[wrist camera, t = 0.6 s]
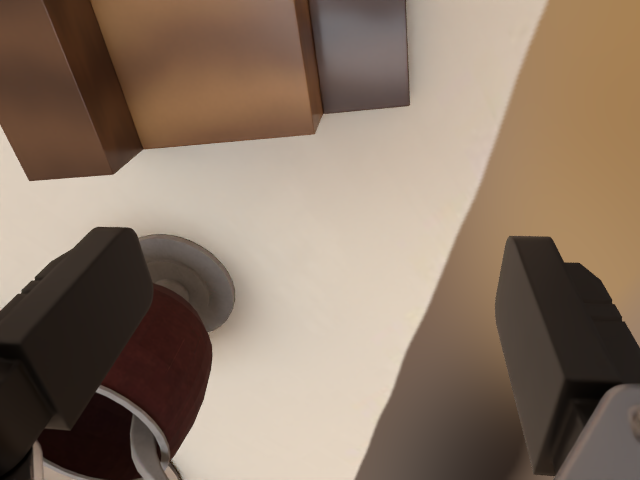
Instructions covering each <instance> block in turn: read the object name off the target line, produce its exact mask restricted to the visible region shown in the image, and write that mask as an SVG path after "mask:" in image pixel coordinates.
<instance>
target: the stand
mask: <svg viewBox="0 0 640 480" xmlns="http://www.w3.org/2000/svg"><path fill="white" fill-rule="evenodd" d="M409 105H410V96H409V70H408V44H407V18H406V0H0V125H1V127H2V129H3V131H4V133H5V135H6V137H7V139H8V141H9V142H10V144H11V146H12V148H13V150H14V152H15V154H16V156H17V158H18V160H19V162H20V164H21V166H22V168H23V170H24V172H25V174H26V176H27V178H28V179H29V181H36V180H49V179H62V178H75V177H88V176H101V175H113V174H115V173H116V172H117V171H118V170H119V169H120V168H122V167H123V166H124V165H125V164H126V163H128V162H129V161H130V160H131V159H132V158H133V157H135V156H136V155H137V154H138V153H139V152H140V151H142V150H143V149H153V148H165V147H176V146H187V145H199V144H210V143H221V142H233V141H244V140H255V139H267V138H278V137H290V136H301V135H312V134H315V132H316V130H317V127H318V125H319V123H320V120H321V118H322V115H323V113H324V114H330V113H340V112H350V111H361V110H371V109H382V108H392V107H403V106H409Z"/></svg>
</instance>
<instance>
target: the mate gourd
mask: <svg viewBox="0 0 640 480" xmlns="http://www.w3.org/2000/svg"><path fill="white" fill-rule="evenodd" d="M139 242H140V245H141V248H142V251H143V254H144V257H145V260H146V263H147V266H148V269H149V272H150V276H151V279H152V282H153V289H154V291H153V300H152V303H151V306H150V308H149V310H148V312H147V313H146V315H145V316H144V318H143V319H142V321H141V322H140V324H139V326H138V327H137V329H136V330H135V332H134V333H133V335H132V336H131V338H130V339H129V341H128V343H127V344H126V346H125V347H124V349H123V350H122V352H121V353H120V355H119V357H118V358H117V360H116V361H115V363H114V364H113V366H112V367H111V369H110V370H109V372H108V374H107V375H106V377H105V378H104V380H103V381H102V383H101V384H100V386H99V388H98V389H97V391H96V392H95V394H94V395H93V397H92V398H91V400H90V401H89V403H88V405H87V406H86V408H85V409H84V411H83V412H82V414H81V415H80V417H79V419H78V420H77V422H76V423H75V425H74V426H73V428H72V429H71V431H69V430H58V429H47V428H44V430H43V431H42V433H41V434H40V435H39V437H38V438H37V440H38V442H39V443H40V445H41V447H42V455H43V466H45V467H47V468H49V469H51V470H53V471H55V472H57V473H60V474H62V475H65V476H67V477H70V478H72V479H75V480H169V478H168V477H167V475H166V473H165V470H166V468H167V467H168V464H169V462H170V461H171V459H172V458H173V457H174V455H175V454H176V452H177V450H178V449H179V447H180V446H181V444H182V442H183V441H184V439H185V437H186V436H187V434H188V432H189V431H190V429H191V427H192V426H193V424H194V422H195V419H196V417H197V414H198V412H199V410H200V407H201V405H202V402H203V400H204V396H205V392H206V388H207V383H208V379H209V375H210V371H211V364H212V344H211V341H210V338H209V335H208V333H207V332H210V331H213V330H215V329H216V328H218V327H220V326H221V325H222V324H223V323H224V322H225V321H226V320H227V319H228V317H229V315H230V313H231V311H232V309H233V306H234V302H235V289H234V286H233V282H232V279H231V277H230V275H229V273H228V271H227V270H226V269H225V267H224V266H223V265H222V263H221V262H220V261H219V260H218V259H217V258H216V257H215V256H214V255H212V254H211V253H210V252H209V251H207V250H206V249H204V248H203V247H201V246H199V245H197V244H195V243H193V242H191V241H189V240H186V239H183V238H180V237H177V236H170V235H149V236H145V237H141V238H139Z"/></svg>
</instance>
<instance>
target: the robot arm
mask: <svg viewBox="0 0 640 480" xmlns="http://www.w3.org/2000/svg"><path fill="white" fill-rule="evenodd" d="M21 291H22V293H21V294H17V295H16V296H15V297H14V298H13V299H12V300H11V301H10V302H9V303H8V304H7V305H6V306H5V307H4V308H3V309H2V310H1V311H0V480H44V470H43V455H42V447H41V445H40V443H39V442H38V440H37V438H38V437H39V435H40V434H41V433H42V431H43V430H44V428H47V429H58V430H69V431H71V429H72V428H73V426H74V425H75V423H76V422H77V420H78V419H79V417H80V415H81V414H82V412H83V411H84V409H85V408H86V406H87V405H88V403H89V401H90V400H91V398H92V397H93V395H94V394H95V392H96V391H97V389H98V388H99V386H100V384H101V383H102V381H103V380H104V378H105V377H106V375H107V374H108V372H109V370H110V369H111V367H112V366H113V364H114V363H115V361H116V360H117V358H118V357H119V355H120V353H121V352H122V350H123V349H124V347H125V346H126V344H127V343H128V341H129V339H130V338H131V336H132V335H133V333H134V332H135V330H136V329H137V327H138V326H139V324H140V322H141V321H142V319H143V318H144V316H145V315H146V313H147V312H148V310H149V308H150V306H151V303H152V300H153V291H154V289H153V282H152V279H151V276H150V272H149V269H148V266H147V263H146V260H145V257H144V254H143V251H142V248H141V245H140V242H139V239H138V236H137V234H136V233H135V231H134V230H133V229H131V228H122V227H96V228H94V229H92V230H91V231H90V232H89V233H88V234H87V235H86V236H85V237H84V238H83V239H82V240H81V241H80V242H79V243H78V244H77V245H76V246H75V247H74V248H73V249H71V250H70V251H68V252H66V253H65V254H63V255H61V256H60V257H58V258H56V259H55V260H53V261H51V262H50V263H49V264H48V265H47V266H46V267H45V268H44V269H43V270H42V271H41V272H40V273H39V274H38V275H37V276H36V277H35V281H31V282H30V283H29V284H28V285H27V286H25V287H24V288H23V289H22V290H21ZM495 301H496V302H495V317H496V325H497V329H498V333H499V337H500V341H501V345H502V349H503V353H504V357H505V361H506V365H507V369H508V373H509V377H510V381H511V385H512V389H513V393H514V397H515V401H516V405H517V409H518V413H519V417H520V421H521V425H522V429H523V433H524V437H525V441H526V445H527V449H528V453H529V457H530V461H531V466H532V469H533V473H534V474H536V475H547V476H555V478H554V480H640V348H639V346H638V344H637V342H636V341H635V339H634V337H633V336H632V334H631V332H630V330H629V329H628V327H627V325H626V323H625V322H622V316H621V315H620V313H619V311H618V309H617V308H616V306H615V305H614V304H612V299H611V297H610V296H609V294H608V292H607V290H606V288H605V287H604V285H603V283H602V282H601V280H600V279H599V278H597V277H596V276H595V275H593V274H592V273H591V272H590V271H589V270H587V269H586V268H585V267H584V266H582V265H581V264H580V263H564V261H563V259H562V257H561V256H560V253H559V252H558V249H557V247H556V245H555V243H554V241H553V240H552V238H551V237H536V236H535V237H533V236H509V237H508V239H507V241H506V245H505V250H504V255H503V261H502V266H501V271H500V277H499V283H498V288H497V293H496V300H495Z"/></svg>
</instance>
